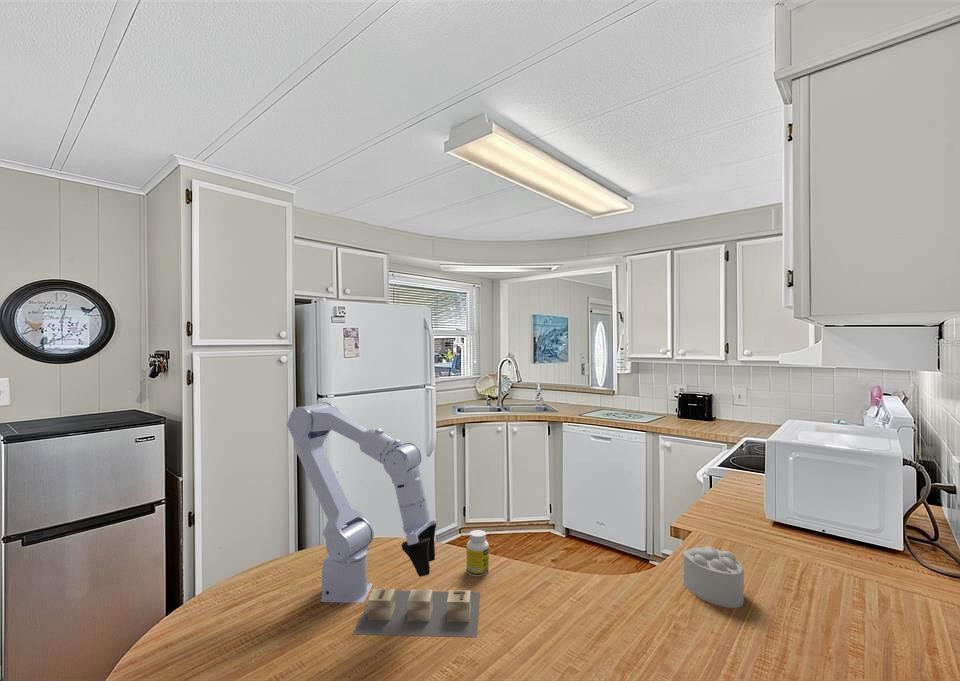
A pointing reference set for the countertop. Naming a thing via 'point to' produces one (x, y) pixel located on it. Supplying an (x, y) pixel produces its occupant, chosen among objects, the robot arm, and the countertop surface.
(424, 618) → the plain birch block
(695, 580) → the lumpy-topped squat cylinder
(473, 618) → the charcoal mat
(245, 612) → the countertop surface
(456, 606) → the numbered block right
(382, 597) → the numbered block left
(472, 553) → the supplement bottle
